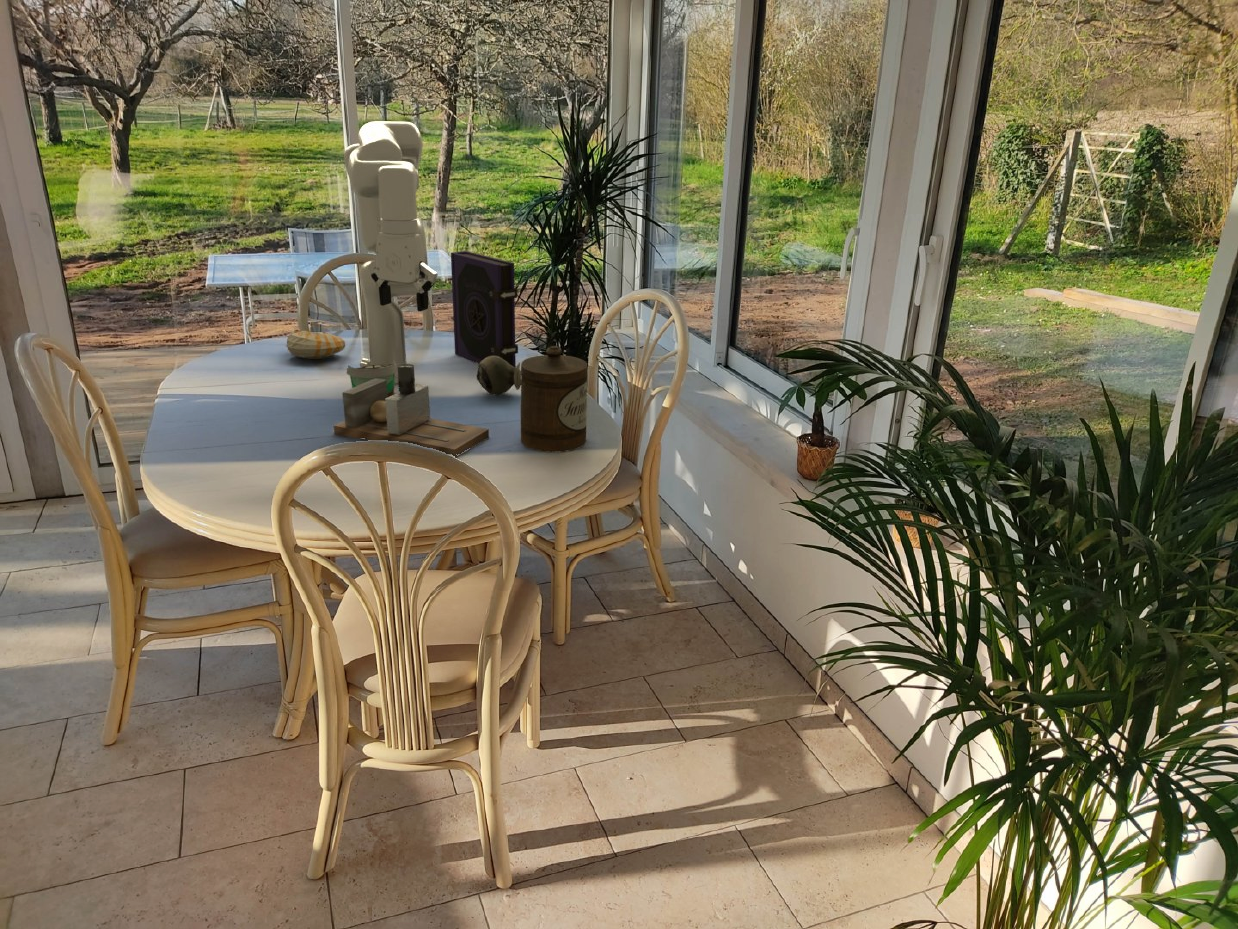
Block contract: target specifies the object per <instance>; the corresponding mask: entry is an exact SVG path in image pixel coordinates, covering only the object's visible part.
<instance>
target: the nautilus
mask: <svg viewBox="0 0 1238 929" xmlns="http://www.w3.org/2000/svg"><path fill="white" fill-rule="evenodd" d="M285 333H287V334H289V335H286V334H285V335H284V337H288V338H287V339H286V345H284V346H285V347H286V348H287V351H289V354H290V353H291V354H290V355H293V356H294V357H299V358H304V359H306V358H307V359H308V360H319V359H323V358H326V357H327V358H328V357H331V356H333V355H335V354H338V353H341V352H342V351H343V350H344V349H345V347H346V341H345V340H344V339H343V338H342V337H340V336H338V335H334V334H331V333H328V332H326V331H321V332H315V331H308V330H301V331H293V330H289V329H288V331H285ZM307 359H306V360H307Z"/></svg>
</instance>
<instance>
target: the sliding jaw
mask: <svg viewBox="0 0 1238 929" xmlns="http://www.w3.org/2000/svg"><path fill="white" fill-rule="evenodd" d="M397 370H398V383H397V385H398V392H396V393H394V395H392V396H390V397H388V398H386V399H385V402H386V415H387V428H388V433H390V434H395V435H401V434H402V433H404V432H406V431H408V430H410V429H412V428H414V427H416V426H418V425H420V424H421V423H423V422H425V421H427V420H429V419H430V418H431V410H430V409H431V408H430V391H429V390H430V389H429V385H426V384H419V383H417V384H416V379H415V378H416V377H415V365H414V364H412V363H411V364H410V363H407V364H401V365H398V366H397Z"/></svg>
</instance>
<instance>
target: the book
mask: <svg viewBox="0 0 1238 929" xmlns="http://www.w3.org/2000/svg"><path fill="white" fill-rule="evenodd" d="M450 263H451V264H450V265H451V266H450V267H451V268H450V269H451V292H452V314H453V336H454V337H453V339H454V340H453V341H454V342H453V343H454V355H455V356H458V357H460V358H462V359H465V360H467V361H470V362H473V363H475V364H477V362H476V360H478V361H479V363H480V362H481V361H482V360H484V359H485V358H486V357H489V356H499V357H500V358H502V359H504V360H505V361H507V362H508V363H509V364H510V365H511V366H513V367H515V368H516V367H517V365H516V364H517V363H516V359H517V358H516V354H519V344H516V311H515V310H516V308H515V307H516V306H515V300H516V299H517V298H518V289H517V288H516V287H515V263H514V262H511V261H507V260H505V259H499V258H495V257H491V256H488V255H484V254H480V253H476V252H472V251H468V250H466V251H465V250H463V251H456V252H455V251H454V252H450ZM475 359H476V360H475Z"/></svg>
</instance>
